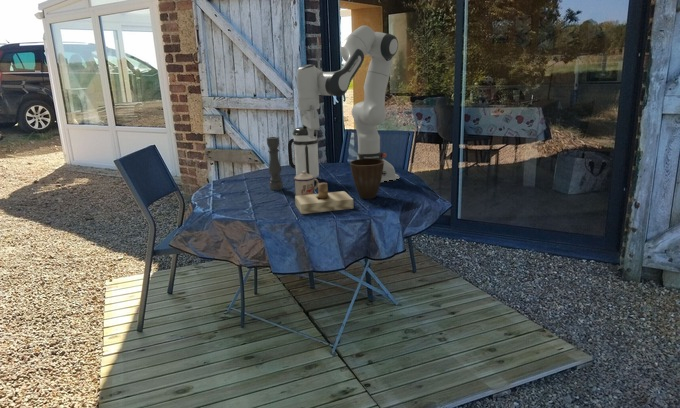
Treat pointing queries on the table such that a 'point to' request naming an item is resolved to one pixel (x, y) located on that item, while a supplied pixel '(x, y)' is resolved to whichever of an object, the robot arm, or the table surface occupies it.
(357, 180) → the plant pot
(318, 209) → the block
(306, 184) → the teacup with lid
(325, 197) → the peg
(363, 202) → the table surface
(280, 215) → the table surface
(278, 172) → the candle holder
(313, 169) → the coffee press
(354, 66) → the robot arm
